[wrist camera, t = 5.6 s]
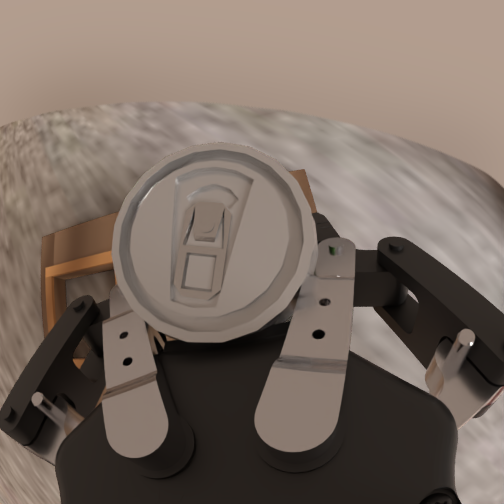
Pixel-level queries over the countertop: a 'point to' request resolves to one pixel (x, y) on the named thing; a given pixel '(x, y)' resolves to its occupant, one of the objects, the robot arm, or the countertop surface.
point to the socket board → (90, 259)
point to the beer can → (214, 243)
